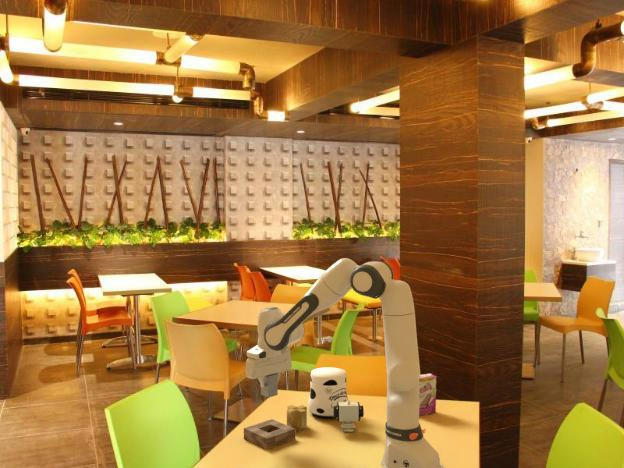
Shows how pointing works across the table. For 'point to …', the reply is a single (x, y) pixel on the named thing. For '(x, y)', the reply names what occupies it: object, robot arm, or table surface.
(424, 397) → the candy bar box
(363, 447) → the table surface
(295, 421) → the cross bit
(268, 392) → the square bit
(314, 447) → the table surface
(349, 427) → the pneumatic valve
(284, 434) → the block
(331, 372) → the milk container
